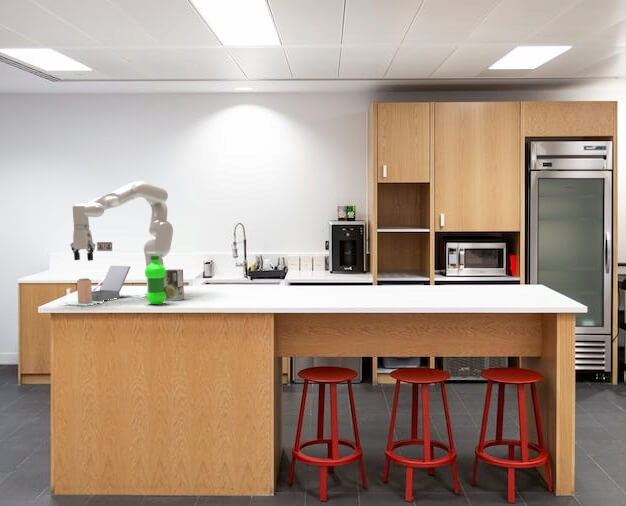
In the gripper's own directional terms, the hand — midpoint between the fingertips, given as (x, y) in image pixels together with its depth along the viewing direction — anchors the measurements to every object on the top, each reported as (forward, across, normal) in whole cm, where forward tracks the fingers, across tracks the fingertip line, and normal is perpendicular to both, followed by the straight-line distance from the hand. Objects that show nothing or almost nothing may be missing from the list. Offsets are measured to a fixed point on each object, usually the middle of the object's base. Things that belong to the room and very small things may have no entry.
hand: (83, 260), depth 376 cm
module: (+22, 0, +1) cm, 22 cm away
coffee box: (+24, -35, -29) cm, 51 cm away
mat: (+23, 0, +1) cm, 23 cm away
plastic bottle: (+24, -37, -13) cm, 46 cm away
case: (+23, +5, -18) cm, 30 cm away
